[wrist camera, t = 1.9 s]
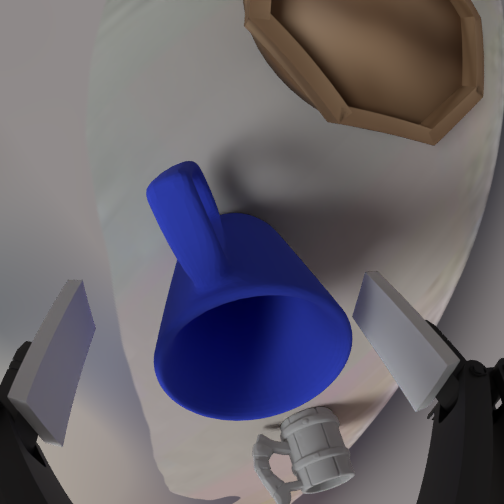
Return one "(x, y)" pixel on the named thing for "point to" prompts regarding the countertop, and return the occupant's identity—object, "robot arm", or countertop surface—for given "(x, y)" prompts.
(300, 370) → the mug
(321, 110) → the octagonal wooden tray
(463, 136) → the countertop surface
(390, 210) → the countertop surface
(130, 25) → the countertop surface
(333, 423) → the mug
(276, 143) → the countertop surface
